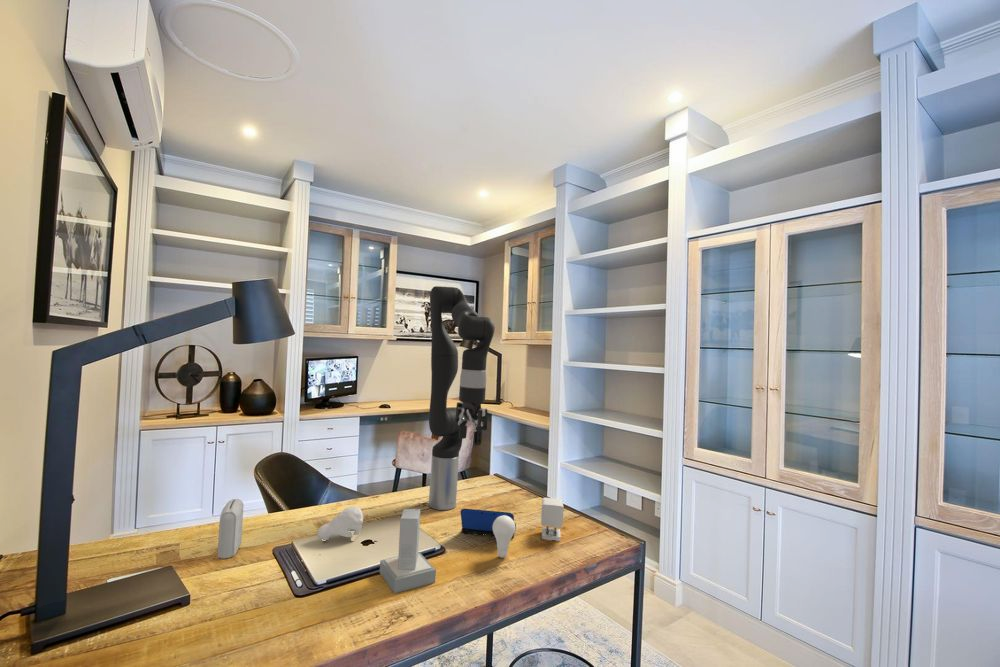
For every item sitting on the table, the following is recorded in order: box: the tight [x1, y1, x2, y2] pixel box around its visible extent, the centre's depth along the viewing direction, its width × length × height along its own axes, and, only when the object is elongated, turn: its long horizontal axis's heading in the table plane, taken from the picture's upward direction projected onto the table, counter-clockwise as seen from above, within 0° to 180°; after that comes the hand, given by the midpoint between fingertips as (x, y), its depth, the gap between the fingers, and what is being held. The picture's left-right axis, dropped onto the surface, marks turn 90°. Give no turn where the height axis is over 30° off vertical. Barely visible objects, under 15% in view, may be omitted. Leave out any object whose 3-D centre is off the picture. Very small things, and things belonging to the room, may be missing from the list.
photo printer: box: [217, 498, 244, 559], centre depth 116 cm, size 10×4×12 cm, turn 20°
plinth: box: [379, 551, 437, 594], centre depth 108 cm, size 10×10×3 cm
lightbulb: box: [492, 515, 516, 559], centre depth 121 cm, size 6×6×11 cm
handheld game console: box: [460, 508, 517, 539], centre depth 136 cm, size 16×13×9 cm
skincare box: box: [397, 508, 421, 570], centre depth 108 cm, size 6×4×12 cm
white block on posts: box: [540, 497, 564, 542], centre depth 136 cm, size 6×7×10 cm
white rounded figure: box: [317, 505, 364, 541], centre depth 126 cm, size 6×8×12 cm
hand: (469, 441), depth 131 cm, fingers open, 8 cm apart
